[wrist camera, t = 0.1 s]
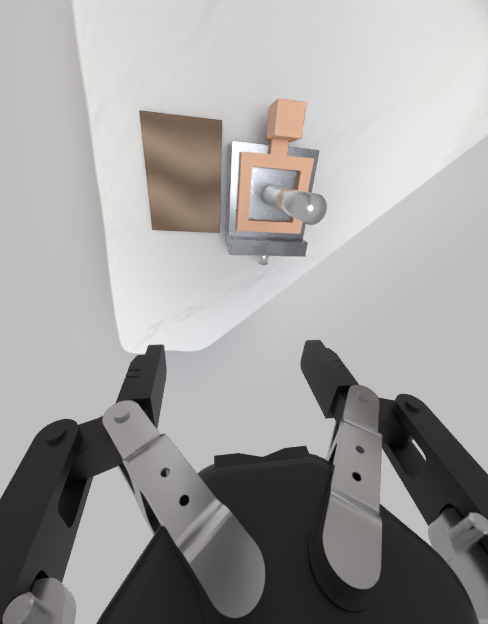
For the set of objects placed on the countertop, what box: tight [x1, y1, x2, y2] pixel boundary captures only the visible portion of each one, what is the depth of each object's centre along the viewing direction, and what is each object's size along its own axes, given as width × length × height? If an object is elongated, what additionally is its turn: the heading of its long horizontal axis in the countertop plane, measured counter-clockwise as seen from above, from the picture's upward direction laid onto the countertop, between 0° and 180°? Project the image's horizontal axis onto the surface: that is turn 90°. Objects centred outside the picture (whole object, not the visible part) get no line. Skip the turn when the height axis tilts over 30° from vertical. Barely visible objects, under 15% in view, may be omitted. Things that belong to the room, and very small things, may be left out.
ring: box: [236, 98, 314, 234], centre depth 29 cm, size 14×9×4 cm, turn 176°
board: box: [139, 111, 222, 233], centre depth 34 cm, size 14×10×1 cm
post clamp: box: [225, 141, 327, 265], centre depth 29 cm, size 15×11×19 cm
